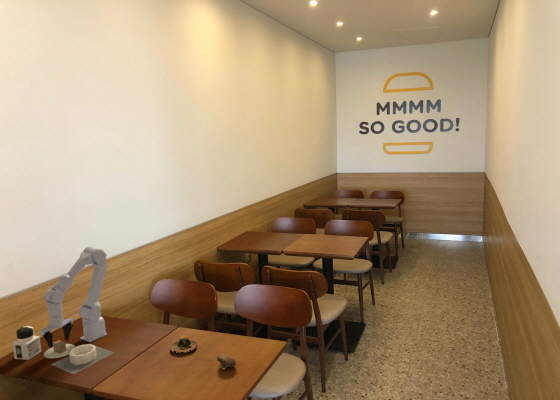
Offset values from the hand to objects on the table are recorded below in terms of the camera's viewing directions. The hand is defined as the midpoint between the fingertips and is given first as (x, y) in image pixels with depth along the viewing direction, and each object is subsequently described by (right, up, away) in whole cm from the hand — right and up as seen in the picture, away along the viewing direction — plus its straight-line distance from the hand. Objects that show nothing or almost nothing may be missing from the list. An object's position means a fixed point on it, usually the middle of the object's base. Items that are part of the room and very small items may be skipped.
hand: (58, 343), depth 196 cm
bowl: (+14, -4, -7) cm, 16 cm away
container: (-13, -5, -2) cm, 14 cm away
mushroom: (+79, -5, -17) cm, 80 cm away
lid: (0, -4, +1) cm, 5 cm away
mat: (+14, -5, -7) cm, 17 cm away
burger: (+57, -3, 0) cm, 57 cm away
